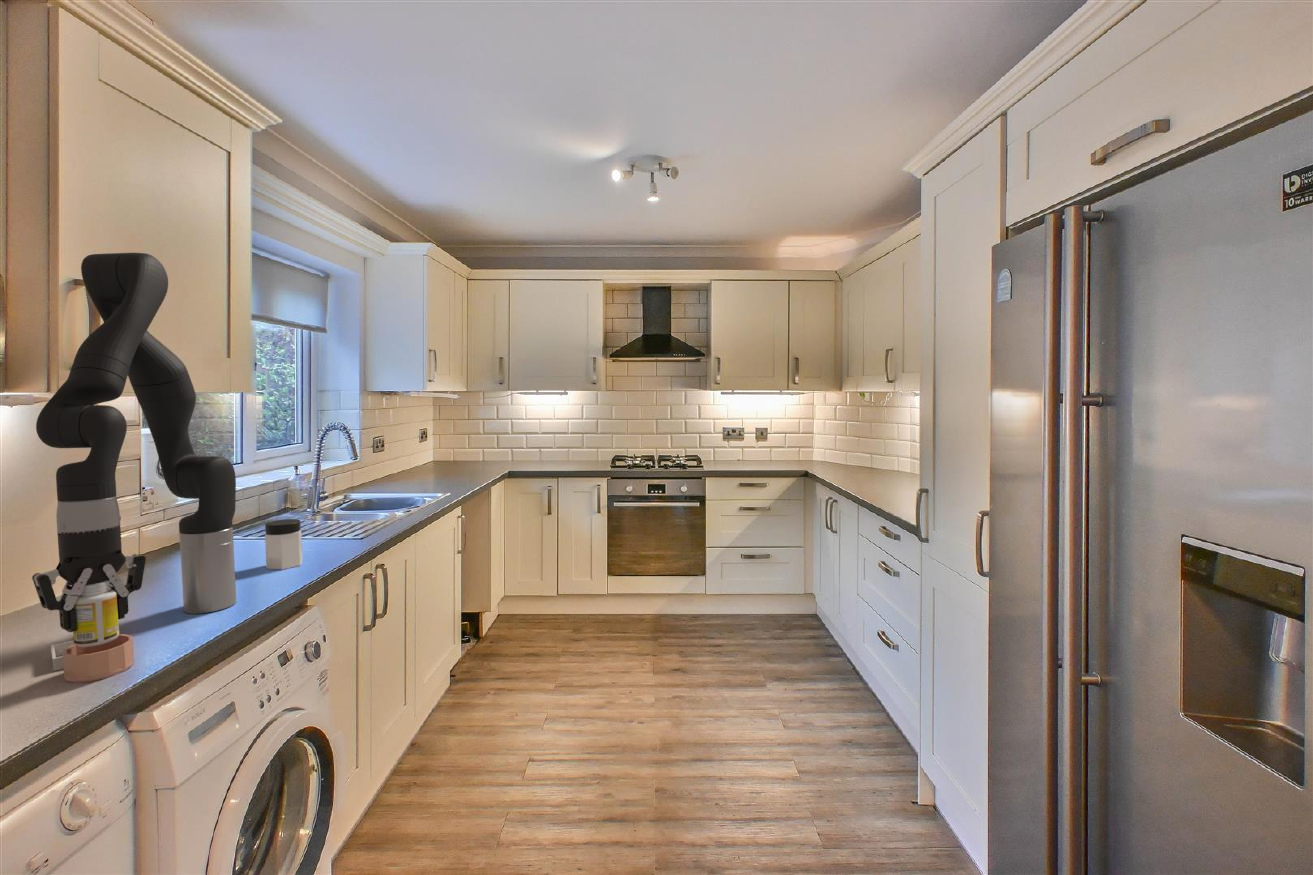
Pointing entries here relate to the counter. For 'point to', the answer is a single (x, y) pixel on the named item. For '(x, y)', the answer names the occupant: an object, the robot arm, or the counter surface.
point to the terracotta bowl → (98, 660)
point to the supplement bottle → (96, 615)
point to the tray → (57, 651)
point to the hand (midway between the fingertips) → (95, 623)
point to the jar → (283, 544)
